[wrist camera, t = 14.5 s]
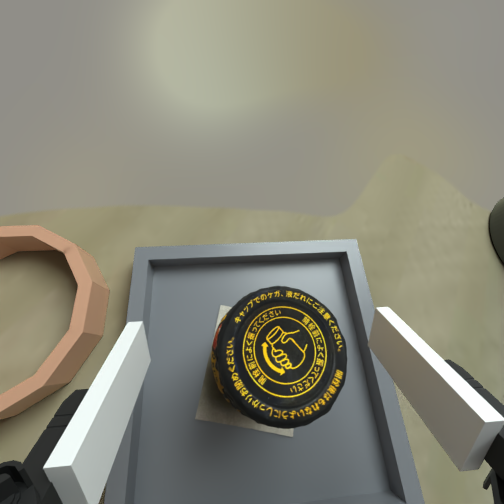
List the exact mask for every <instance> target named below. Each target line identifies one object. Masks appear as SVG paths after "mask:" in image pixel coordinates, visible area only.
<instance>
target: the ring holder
mask: <svg viewBox="0 0 504 504" xmlns="http://www.w3.org/2000/svg"><path fill="white" fill-rule="evenodd" d="M43 250H57V251H59V252H60V253H62V254H64V255H65V256H66V258H67V261H68V263H69V265H70V268H71V270H72V272H73V275H74V277H75V279H76V281H77V284H78V289H77V294H76V299H75V303H74V308H73V313H72V318H71V323H70V328H69V330H68V332H67V333H66V334H65V335H64V337H63V338H62V339H61V341H60V342H59V343H58V345H57V346H56V347H55V349H54V350H53V351H52V352H51V354H50V355H49V356H48V358H47V359H46V360H45V362H44V363H43V364H42V365H41V367H40V368H39V369H38V371H37V372H36V373H35V375H33V376H32V377H30V378H28V379H26V380H25V381H23V382H21V383H20V384H18V385H16V386H15V387H13V388H11V389H10V390H8V391H6V392H4V393H3V394H1V395H0V419H4V418H8V417H12V416H16V415H18V414H19V413H21V412H23V411H24V410H26V409H28V408H29V407H31V406H32V405H34V404H36V403H37V402H39V401H40V400H42V399H44V398H45V397H47V396H48V395H50V394H52V393H53V392H55V391H57V390H58V389H60V388H61V387H63V386H65V385H66V384H68V383H69V382H71V380H72V379H73V377H74V376H75V374H76V373H77V372H78V370H79V369H80V367H81V366H82V365H83V363H84V362H85V360H86V359H87V357H88V356H89V355H90V353H91V352H92V350H93V349H94V347H95V346H96V345H97V343H98V342H99V340H100V339H101V338H102V336H103V331H104V325H105V318H106V312H107V305H108V299H109V292H110V290H109V288H108V286H107V284H106V282H105V280H104V278H103V276H102V274H101V271H100V269H99V267H98V265H97V263H96V261H95V259H94V257H93V256H91V255H90V254H88V253H87V252H86V251H84V250H83V249H81V248H80V247H79V246H77V245H76V244H74V243H72V242H70V241H68V240H66V239H64V238H62V237H60V236H58V235H56V234H55V233H53V232H51V231H49V230H47V229H45V228H43V227H41V226H39V225H29V226H0V259H3V258H5V257H7V256H9V255H11V254H14V253H16V252H18V251H43Z"/></svg>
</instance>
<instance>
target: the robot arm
mask: <svg viewBox="0 0 504 504" xmlns="http://www.w3.org/2000/svg"><path fill="white" fill-rule="evenodd" d="M490 232H491V237H492V240H493V243H494V246H495V248H496V250H497V252H498V254H499V256H500V258H501V260H502V261H503V263H504V198H502V199H501V200H500V201H499V202H498V203H497V204H496V205H495V207H494V208H493V210H492V213H491V217H490ZM368 346H369V348H370V349H371V350H372V352H373V353H374V354H375V356H376V357H377V359H378V360H379V361H380V363H381V364H382V365H383V367H384V368H385V369H386V371H387V372H388V374H389V375H390V376H391V378H392V379H393V380H394V382H395V383H396V385H397V386H398V387H399V389H400V390H401V391H402V393H403V394H404V396H405V397H406V398H407V400H408V401H409V402H410V404H411V405H412V407H413V408H414V409H415V411H416V412H417V413H418V415H419V416H420V417H421V419H422V420H423V422H424V423H425V424H426V426H427V427H428V428H429V430H430V431H431V433H432V434H433V435H434V437H435V438H436V439H437V441H438V442H439V444H440V445H441V446H442V448H443V449H444V450H445V452H446V453H447V455H448V456H449V457H450V459H451V460H452V461H453V463H454V464H455V465H456V467H457V468H458V470H459V471H468V470H477V469H479V468H480V466H481V464H482V462H483V460H484V459H485V460H486V462H487V463H488V464H489V465H490V466H491V467H492V469H491V471H490V472H489V474H488V476H487V477H486V479H485V481H484V483H483V488H484V489H486V490H487V489H488V487H489V485H490V484H491V485H492V491H493V498H494V504H504V405H503V404H502V403H500V402H499V401H498V400H497V399H496V398H495V397H494V396H493V395H492V394H491V393H490V392H488V391H487V390H486V389H484V388H483V386H482V385H481V384H480V383H479V382H478V381H476V380H474V378H473V377H472V376H471V375H470V374H469V373H468V372H467V371H465V370H464V369H463V368H462V367H460V366H459V365H457V364H455V363H454V362H452V361H451V360H443V359H442V358H441V357H440V356H439V355H438V354H437V353H436V352H435V351H434V350H433V349H432V348H431V347H429V346H428V345H427V344H426V343H425V342H424V341H423V340H422V339H421V338H420V337H419V336H418V335H417V334H416V333H415V332H414V331H413V330H412V329H411V328H410V327H409V326H408V325H407V324H406V323H404V322H403V321H402V320H401V319H400V318H399V317H398V316H397V315H396V314H395V313H394V312H393V311H392V310H391V309H390V308H389V307H379V308H376V309H375V314H374V318H373V323H372V327H371V332H370V337H369V341H368ZM150 361H151V359H150V354H149V349H148V344H147V339H146V334H145V329H144V324H143V321H139V322H128V323H127V325H126V327H125V328H124V330H123V332H122V333H121V335H120V337H119V339H118V340H117V342H116V344H115V345H114V347H113V349H112V351H111V352H110V354H109V356H108V357H107V359H106V361H105V363H104V364H103V366H102V368H101V369H100V371H99V373H98V375H97V376H96V378H95V380H94V381H93V383H92V385H91V387H90V388H89V389H82V390H75V391H74V392H73V393H72V394H71V395H70V396H69V397H68V398H67V399H66V400H65V401H63V403H62V404H61V406H60V407H59V409H58V410H57V412H56V413H55V415H54V418H52V420H51V421H50V423H49V424H48V426H47V429H46V430H44V432H43V433H42V435H41V436H40V438H39V439H38V441H37V442H36V444H35V445H34V447H33V448H32V450H31V451H30V453H29V455H28V456H27V458H26V459H25V461H24V462H23V464H22V463H21V462H18V461H14V460H13V461H8V462H3V463H1V464H0V504H98V503H99V500H100V498H101V495H102V492H103V490H104V487H105V484H106V481H107V479H108V476H109V473H110V470H111V468H112V465H113V462H114V460H115V457H116V454H117V451H118V449H119V446H120V443H121V440H122V438H123V435H124V432H125V430H126V427H127V424H128V421H129V419H130V416H131V413H132V410H133V408H134V405H135V402H136V400H137V397H138V394H139V391H140V389H141V386H142V383H143V380H144V378H145V375H146V372H147V369H148V367H149V364H150Z"/></svg>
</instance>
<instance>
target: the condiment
mask: <svg viewBox="0 0 504 504" xmlns="http://www.w3.org/2000/svg"><path fill="white" fill-rule="evenodd" d="M347 359H348V358H347V347H346V341H345V338H344V337H343V335H342V333H341V331H340V328H339V326H338V322H337V319H336V318H335V316H334V315H333V314H332V312H331V311H330V310H329V309H328V308H327V307H326V306H325V305H324V304H322V303H321V302H320V301H319V300H317V299H316V298H315V297H313V296H311V295H310V294H308V293H305V292H304V291H302V290H299V289H295V288H290V287H287V286H272V287H268V288H261V289H259V290H257V291H255V292H251V293H249V294H248V295H246V296H244V297H243V298H242V299H241V300H239V301H238V302H237V303H236V304H235V305H234V306H233V307H229V306H224V305H221V306H220V310H219V315H218V319H217V324H216V328H215V333H214V337H213V342H212V346H211V351H210V355H209V360H208V364H207V368H206V373H205V377H204V381H203V386H202V391H201V395H200V400H199V404H198V408H197V413H196V417H195V419H198V420H204V421H211V422H216V423H222V424H227V425H233V426H238V427H244V428H249V429H251V428H252V429H255V430H259V431H264V432H270V433H276V434H280V435H285V436H290V437H293V430H294V428H297V427H301V426H306V425H308V424H310V423H312V422H313V421H315V420H317V419H318V418H320V417H321V416H323V415H325V414H327V413H328V412H329V411H330V410H331V408H332V406H333V404H334V402H335V401H336V399H337V397H338V395H339V393H340V391H341V389H342V388H343V386H344V384H345V379H346V373H347Z"/></svg>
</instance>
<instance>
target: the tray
mask: <svg viewBox="0 0 504 504" xmlns="http://www.w3.org/2000/svg"><path fill="white" fill-rule="evenodd" d="M272 286H287V287H290V288H295V289H299V290H302V291H304V292H305V293H308V294H310V295H311V296H313V297H315V298H316V299H317V300H319V301H320V302H321V303H322V304H324V305H325V306H326V307H327V308H328V309H329V310H330V311H331V312H332V314H333V315H334V316H335V318H336V319H337V322H338V326H339V328H340V331H341V333H342V335H343V337H344V338H345V341H346V347H347V358H348V359H347V373H346V379H345V384H344V386H343V388H342V389H341V391H340V393H339V395H338V397H337V399H336V401H335V402H334V404H333V406H332V408H331V410H330V411H329V412H328V413H327V414H325V415H323V416H321V417H320V418H318V419H317V420H315V421H313V422H312V423H310V424H308V425H306V426H301V427H297V428H294V430H293V437H290V436H285V435H280V434H276V433H270V432H264V431H259V430H255V429H252V428H251V429H249V428H244V427H238V426H233V425H227V424H222V423H216V422H211V421H204V420H198V419H195V417H196V413H197V408H198V404H199V400H200V395H201V391H202V386H203V381H204V377H205V373H206V368H207V364H208V360H209V355H210V351H211V346H212V342H213V337H214V333H215V328H216V324H217V319H218V315H219V310H220V306H221V305H224V306H229V307H233V306H234V305H235V304H236V303H237V302H238V301H239V300H241V299H242V298H243V297H244V296H246V295H248V294H249V293H251V292H255V291H257V290H259V289H261V288H268V287H272ZM374 314H375V310H374V306H373V302H372V298H371V294H370V290H369V287H368V283H367V279H366V275H365V271H364V267H363V263H362V260H361V256H360V252H359V248H358V244H357V240H356V239H346V240H319V241H293V242H266V243H239V244H212V245H186V246H159V247H135V255H134V263H133V271H132V279H131V288H130V296H129V304H128V312H127V320H126V325H127V323H128V322H139V321H143V324H144V329H145V334H146V339H147V344H148V349H149V354H150V359H151V361H150V364H149V367H148V369H147V372H146V375H145V378H144V380H143V383H142V386H141V389H140V391H139V394H138V397H137V400H136V402H135V405H134V408H133V410H132V413H131V416H130V419H129V421H128V424H127V427H126V430H125V432H124V435H123V438H122V440H121V443H120V446H119V449H118V451H117V454H116V457H115V460H114V462H113V465H112V468H111V470H110V473H109V476H108V479H107V484H106V492H105V500H104V504H425V502H424V499H423V495H422V491H421V487H420V483H419V479H418V475H417V472H416V468H415V464H414V460H413V456H412V452H411V448H410V445H409V441H408V437H407V433H406V429H405V425H404V421H403V418H402V414H401V410H400V406H399V402H398V398H397V394H396V391H395V387H394V383H393V379H392V378H391V376H390V375H389V374H388V372H387V371H386V369H385V368H384V367H383V365H382V364H381V363H380V361H379V360H378V359H377V357H376V356H375V354H374V353H373V352H372V350H371V349H370V348H369V346H368V341H369V337H370V332H371V327H372V323H373V318H374Z"/></svg>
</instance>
